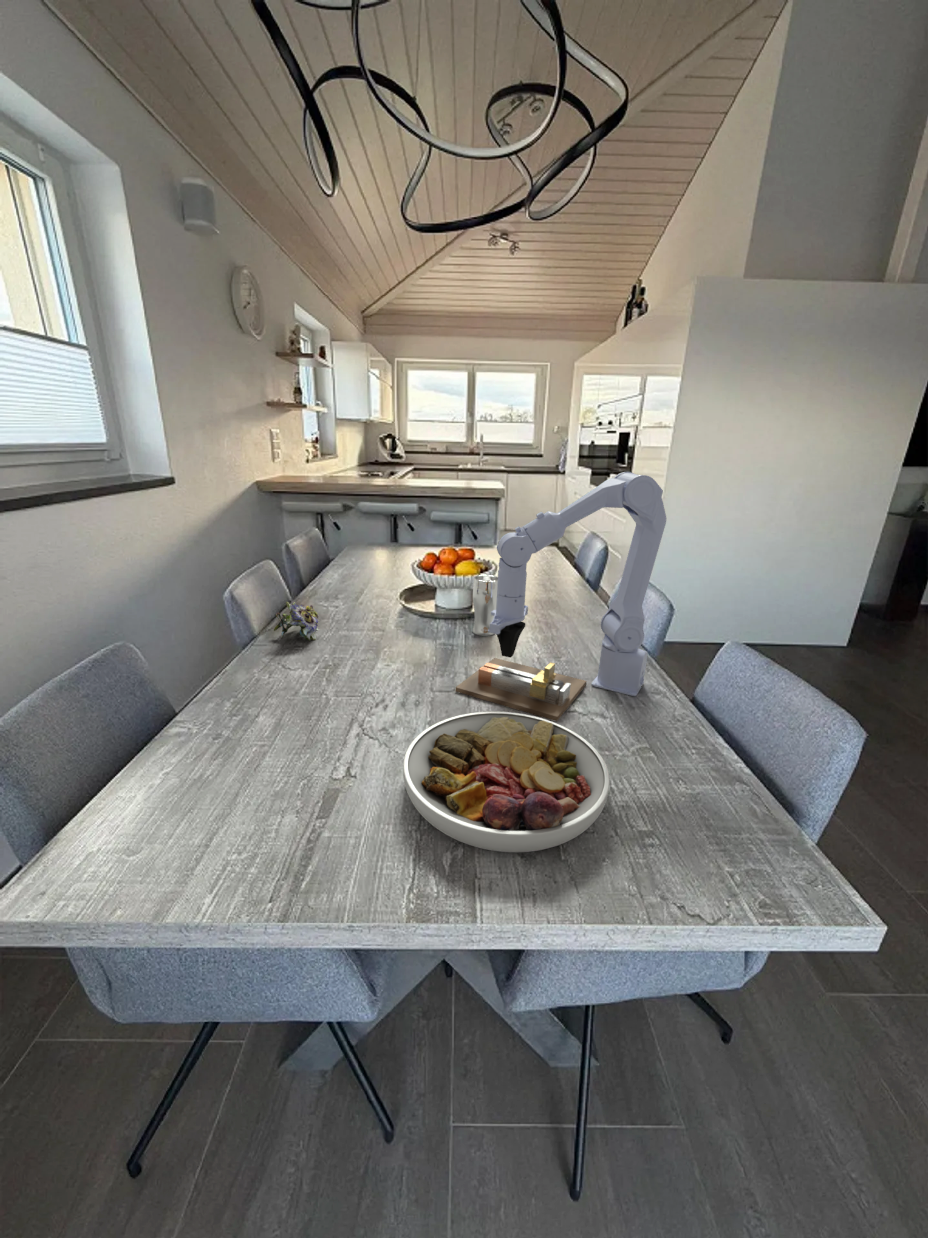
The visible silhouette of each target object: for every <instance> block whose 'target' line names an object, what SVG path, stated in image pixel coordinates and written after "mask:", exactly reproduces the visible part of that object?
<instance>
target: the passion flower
mask: <svg viewBox="0 0 928 1238" xmlns="http://www.w3.org/2000/svg"><path fill="white" fill-rule="evenodd" d="M285 604H286V606H287V608H288V610H289V614H287V613H282V617H281V613H280V612H276V613H275V617H276V619H278V621H279V623H278V624H276V626H275V627H274V629H273V632H275V631H277V630H278V629H280V628H281V629H282V630H281V634H280V635H281V637H280V639H281V640H282V639H283V637H284V635H285V634H287V632H288V631H289V629H291V627H295V626H296V627H299V628H300V630H299V635H300V636H301V637H302V638H303V637H304V639H305V640H307V641H309V642H310V641H315V640H317V636H316V632H318V631H319V628H318V625H319V620H318V618H319V616H318V614H319V613H317V611H315V608H314V606H313V604H311V605H310V606H309V605H306V606H305V605H303V604H301V605H300V604H296V602H295V601H294V602H292V604H290V602H288V601H285ZM285 625H286V626H285Z"/></svg>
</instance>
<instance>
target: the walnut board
mask: <svg viewBox="0 0 928 1238" xmlns="http://www.w3.org/2000/svg"><path fill="white" fill-rule="evenodd" d="M487 663H491V664H495V665H499V666H502V667H506V668H510V669H514V670H518V671H522V672H526V673H530V674H534V675H537V674H538V673H539V672H540V671H541V670H543V671H544V669H540V668H537V667H533V666H530V665H529V666H528V665H524V664H520V663H516V662H513V661H509V660H505V659H500V658H498V657H497V658H496V657H493V658H492V659H491V660H490V661H488V662H487ZM483 667H484V665H483ZM554 673H555V674H556V676H555V678H554V679H553V680H561V681H563V682H564V685H565V684H566V683H571V687H570V695H569V699H568V700H567V701H566V702H565V704H564V705H563V706H558V702H559V699H558V702H557V703H556V704H551V703H547V702H544V701H540V700H537V699H533V698H530V697H526V696H522V695H519V694H515V693H512V692H508V691H505V690H501V689H497V688H494V687H490V686H487V685H483V684H479V683H478V675H479V669H477V671H475V672H473V673H472V674H471V675H470V676H468V677H467V678H466V679H464V680H463V681H462V682H460V683H459V684H458V685H456V686H455V693H459V694H463V695H466V696H469V697H473V698H476V699H480V700H483V701H486V702H490V703H492V704H493V703H494V704H496V705H499V706H504V707H507V708H510V709H513V710H517V711H520V712H524V713H527V714H529V715H532V716H536V717H539V718H543V719H546V720H549V721H550V720H551V721H553V722H558V721H559V720H560V719H561V718H562V715H563V714H564V713H565V712H566V711H567V710H568V708H569V707H570V706H571V705H572V703H573V702H574V701H575V700H576V698H577V697H578V696H579V694H581V692H582V691H583V690H584V688H585V687H587V680H585V679H581V678H577V677H572V676H568V675H566V674H565V675H564V674H560V673H557V672H554ZM564 685H563V686H564Z"/></svg>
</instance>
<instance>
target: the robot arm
mask: <svg viewBox="0 0 928 1238" xmlns="http://www.w3.org/2000/svg"><path fill="white" fill-rule="evenodd" d="M663 493H664V492H663V488H662V487H661V486H660V485H659V484H658V482H657V481H656V480H655V479H654V477H651V476H650V475H647V474H638V473H637V474H636V473H633V472H631V471H624V472H620V473H618V474H617V475H615V476H614V477H611V478H609V479H606V480H604V481H603V482H602V483H600V484H598V485H597V486H596V487H595V488H593V489H591V490H590V491H589V492H587V493H586V494H584V495H582V496H581V497H580V498H578V499H577V500H575V501H574V502H572V503H570V504H569V505H567V506H566V507H565V508H563V509H561V510H560V511H558V512H553V511H548V510H547V511H546V512H545V513H544V512H543V511H540V512H538V513H537V514H536V518H535V519H533V520H531V521H530V522H528V523H526V524H524V525H522V526H519V525H518V526H517V527H515V528H514V530H515V532H514V531H513V532H508V533H505V534H504V535H503V536H501V538H500V539H499V541H498V543H497V545H496V551H497V554H498V555H499V556H500V557H499V562H498V570H497V577H498V582H497V603H496V610H493V611H491V615H493V616H494V618H493V621H492V622H491V623H490V627H489V632H490V633H494V635H496V637H497V640H498V643H499V649H500V653H501V656H502V657H507V658H509V659H510V658H512V657H513V656H514V655H515V652H516V649H517V645H518V641H519V639H520V636H521V634H522V632H523V630H524V629H525V628H526V622H524V621H525V619H526V616H527V615H528V613H529V605H525V604H526V591H527V590H526V589H527V588H526V587H527V575H528V574H527V573H528V572H527V567H528V565H527V564H528V562H529V561H530V559H531V557H532V555H533V554H537V553H538V552H540V551H541V550H543V549H545V548H546V547H548V546H550V545H551V544H553V543H555V542H557V541H558V540H560V539H562V538H563V537H564V534H565V531H566V529H567V528H568V527H570V526H572V525H574V524H575V523H577V522H579V521H581V520H583V519H585V518H586V517H588V516H590V515H592V514H594V513H596V512H597V511H600V510H602V509H603V508H612V509H613V508H615V509H625V511H627V513H628V514H629V516H630V517H631V519H632V520H633V521H634V523H635V529H634V532H633V535H632V538H631V543H630V546H629V551H628V553H627V557H626V561H625V565H624V569H623V570H622V571H623V572H622V576H621V580H620V582H619V586H618V590H617V593H616V598H614V599H613V600H612V601H611V602H610V604H609V607H608V609H607V611H606V612H605V614H603V616H602V618H601V620H600V629H601V631H602V632H603V634H604V636H603V638H602V640H601V648H600V656H599V666H598V672H597V676H596V677H595V678H594V679H593V680H592V682H591V684H590V685H591V686H592V687H597V688H599V689H600V688H601V689H603V690H604V689H605V690H608V691H611V692H615V693H619V694H623V695H626V696H627V695H628V696H632V697H637V695H638V694H639V692H640V690H641V688H642V687H641V686H643V685H644V682H645V681H644V680H645V674H646V669H647V668H646V667H647V660H648V651H646V650H643V649H641V648H639V647H640V646H641V645H642V644H643V642H644V640H645V631H644V624H645V621H646V620H645V614H644V610H643V604H644V600H645V596H646V593H647V590H648V586H649V583H650V579H651V576H652V572H653V569H654V565H655V563H656V559H657V555H658V552H659V549H660V545H661V541H662V538H663V534H664V532H665V528H666V524H667V514H666V510H665V505H664V502H663Z"/></svg>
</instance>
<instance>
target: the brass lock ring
mask: <svg viewBox="0 0 928 1238" xmlns="http://www.w3.org/2000/svg"><path fill="white" fill-rule="evenodd" d="M555 668H556V663H555V662H549V663H548V664H547V665H546V666H545V667H544V669H541V671H540V672H539V673H538V674H537V675H536V676H535V677H534V678H533V679H532V683H531V684H530V695H529V696H532V697H535V698H539V699H542V700H544V699H545V692H546V687H547V686H548V684H549V683H550V682H551V681H552V680H553V679H554V678H555V676H556V674H555V673H556V672H555ZM543 670H544V671H543Z"/></svg>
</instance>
